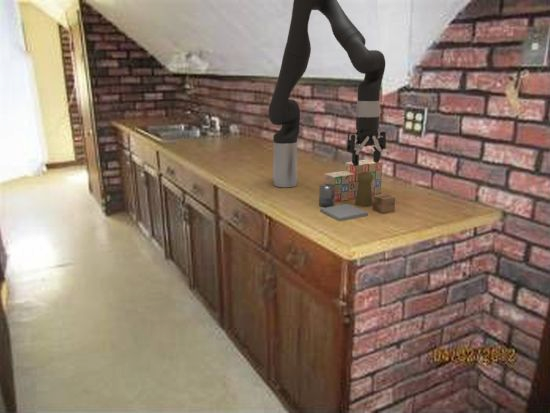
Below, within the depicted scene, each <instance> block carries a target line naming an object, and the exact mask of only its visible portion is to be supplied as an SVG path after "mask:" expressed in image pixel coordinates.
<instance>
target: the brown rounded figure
mask: <svg viewBox="0 0 550 413" xmlns="http://www.w3.org/2000/svg"><path fill="white" fill-rule="evenodd" d="M357 179H358V182H359V184H358V190H357V195H356V198H355V202H354V204H355V206H358V207H363V208H364V207H366V208H367V207H371V206H372V207H373V195H372V189H371V182H372V180H373V176H372V174H371V173H367V172H363V173H359V174H358V176H357Z"/></svg>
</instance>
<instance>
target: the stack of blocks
mask: <svg viewBox="0 0 550 413" xmlns="http://www.w3.org/2000/svg"><path fill="white" fill-rule="evenodd" d="M344 167H345V168H344V170H342V171H341V170H340V171H334V172H327V173H326V172H325V173H324V183H323V184H332V185H334V203H338V202H343V201H349V199H350V200H355V199H356V195H357V190H358V184H359V182H358V179H357V176H358V174H359V173H363V172H367V173H371V174H372V176H373V180H372V182H371V189H372V196H374V195H376V194H377V195H380V194H382V176H383V161H381V160H380V161H379V162H378V163H376V162H374V161H373V158H371V159H359V165H358V166H355V165H353V163H352V161H345V164H344ZM337 201H338V202H337Z"/></svg>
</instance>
